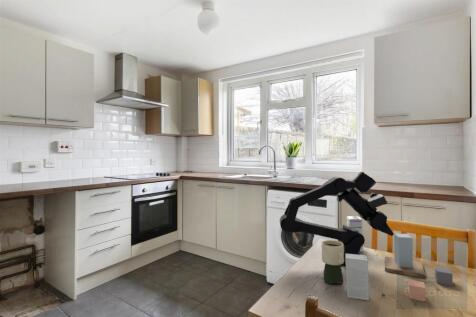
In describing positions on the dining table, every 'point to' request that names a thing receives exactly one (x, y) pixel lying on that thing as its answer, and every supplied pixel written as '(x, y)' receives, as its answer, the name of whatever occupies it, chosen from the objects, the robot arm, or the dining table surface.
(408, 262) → the slate block
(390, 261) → the walnut board
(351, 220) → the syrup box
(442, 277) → the charcoal block
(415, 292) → the terracotta block
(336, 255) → the character mug
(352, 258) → the skincare box
